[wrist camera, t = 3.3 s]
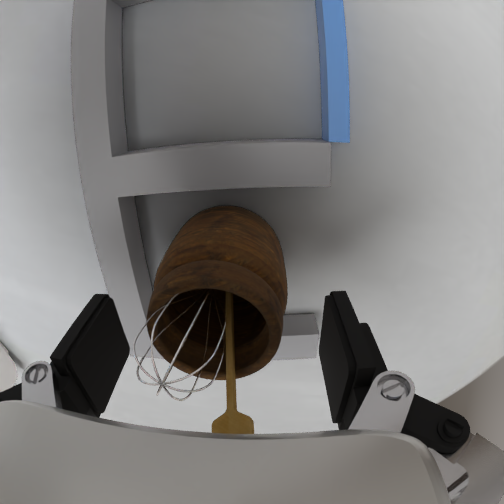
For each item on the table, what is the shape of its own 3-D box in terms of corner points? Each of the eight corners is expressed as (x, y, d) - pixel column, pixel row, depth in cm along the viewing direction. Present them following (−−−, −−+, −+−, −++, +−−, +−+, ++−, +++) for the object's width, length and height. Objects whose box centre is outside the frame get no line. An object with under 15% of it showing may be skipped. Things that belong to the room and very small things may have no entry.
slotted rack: (93, -9, 10) (76, -19, 8) (329, -38, 9) (337, -53, 8) (139, 336, 20) (130, 356, 18) (326, 336, 19) (331, 356, 18)
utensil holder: (263, 186, 15) (273, 372, 4) (294, 287, 18) (326, 487, 7) (159, 220, 16) (35, 393, 5) (202, 310, 19) (160, 495, 8)
